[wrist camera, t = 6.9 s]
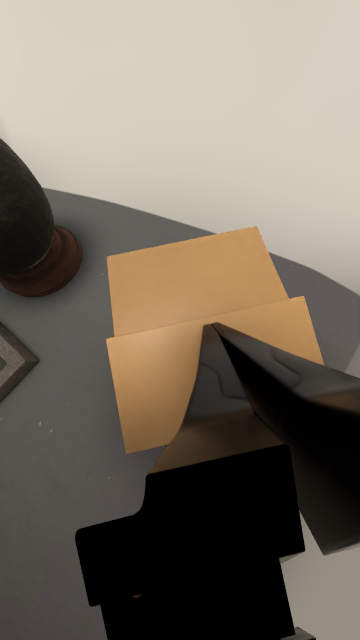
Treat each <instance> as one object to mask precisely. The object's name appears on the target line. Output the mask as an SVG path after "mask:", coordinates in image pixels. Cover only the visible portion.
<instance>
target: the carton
mask: <svg viewBox="0 0 360 640" xmlns="http://www.w3.org/2000/svg"><path fill="white" fill-rule="evenodd" d="M107 265H108V275H109V286H110V296H111V306H112V316H113V326H114V336H115V337H117V336H121V335H126V334H131V333H135V332H140V331H144V330H149V329H154V328H158V327H163V326H168V325H172V324H177V323H181V322H186V321H191V320H195V319H200V318H204V317H209V316H214V315H218V314H223V313H227V312H232V311H237V310H241V309H246V308H250V307H255V306H260V305H264V304H269V303H273V302H278V301H283V300H287V299H289V298H288V296H287V294H286V292H285V289H284V287H283V285H282V283H281V280H280V278H279V276H278V273H277V271H276V269H275V267H274V264H273V262H272V260H271V258H270V255H269V253H268V251H267V249H266V246H265V244H264V242H263V240H262V237H261V235H260V233H259V231H258V228H257V227H256V226H254V227H250V228H245V229H241V230H235V231H230V232H226V233H220V234H215V235H211V236H206V237H201V238H196V239H191V240H186V241H181V242H176V243H172V244H167V245H162V246H157V247H152V248H147V249H142V250H137V251H133V252H128V253H123V254H118V255H113V256H108V257H107Z"/></svg>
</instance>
